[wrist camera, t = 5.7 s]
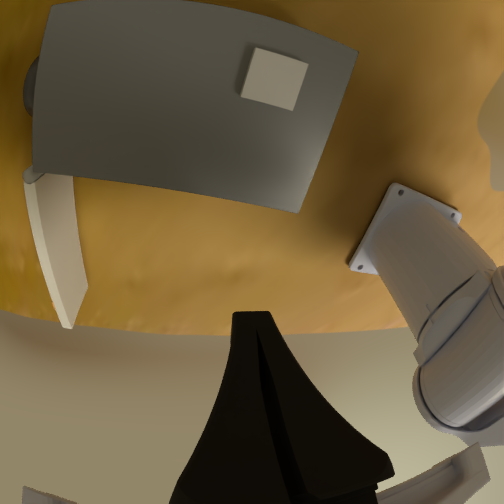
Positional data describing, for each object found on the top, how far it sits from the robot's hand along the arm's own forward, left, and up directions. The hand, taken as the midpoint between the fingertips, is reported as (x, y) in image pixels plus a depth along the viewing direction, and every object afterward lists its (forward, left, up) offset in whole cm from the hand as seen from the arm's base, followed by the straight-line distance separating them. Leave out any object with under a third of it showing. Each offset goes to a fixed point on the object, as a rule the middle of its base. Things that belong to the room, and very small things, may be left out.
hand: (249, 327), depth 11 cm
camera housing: (+5, -7, -9) cm, 13 cm away
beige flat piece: (+12, +3, -9) cm, 15 cm away
